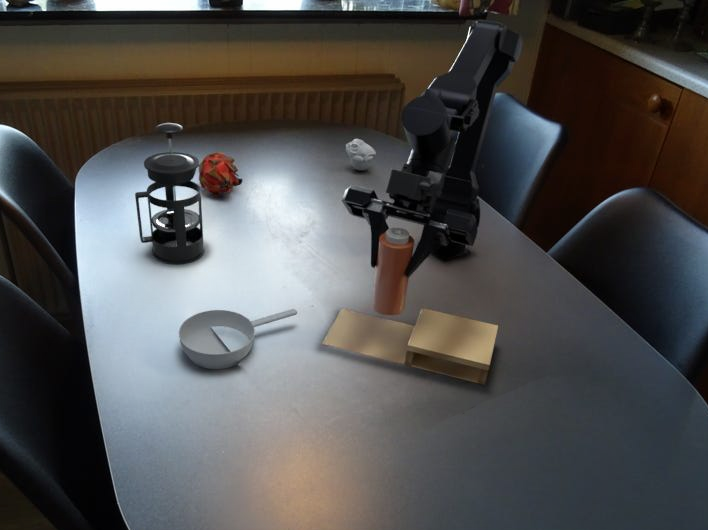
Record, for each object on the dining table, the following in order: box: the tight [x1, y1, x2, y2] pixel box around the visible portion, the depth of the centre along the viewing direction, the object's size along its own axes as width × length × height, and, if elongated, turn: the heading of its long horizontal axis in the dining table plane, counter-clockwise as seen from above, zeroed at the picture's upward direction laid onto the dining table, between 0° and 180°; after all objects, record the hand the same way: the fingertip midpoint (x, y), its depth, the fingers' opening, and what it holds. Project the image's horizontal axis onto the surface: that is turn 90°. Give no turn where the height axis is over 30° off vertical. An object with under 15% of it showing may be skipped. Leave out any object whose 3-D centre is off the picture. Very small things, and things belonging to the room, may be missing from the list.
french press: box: [134, 122, 206, 265], centre depth 114 cm, size 12×9×23 cm
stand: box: [322, 307, 499, 385], centre depth 100 cm, size 24×10×4 cm, turn 71°
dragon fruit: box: [197, 151, 244, 198], centre depth 141 cm, size 8×8×12 cm
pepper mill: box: [371, 227, 415, 316], centre depth 95 cm, size 5×5×12 cm
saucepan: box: [178, 308, 298, 370], centre depth 99 cm, size 11×18×4 cm, turn 118°
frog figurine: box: [345, 138, 377, 171], centre depth 155 cm, size 6×7×7 cm
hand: (389, 271), depth 93 cm, fingers closed on pepper mill, 5 cm apart
